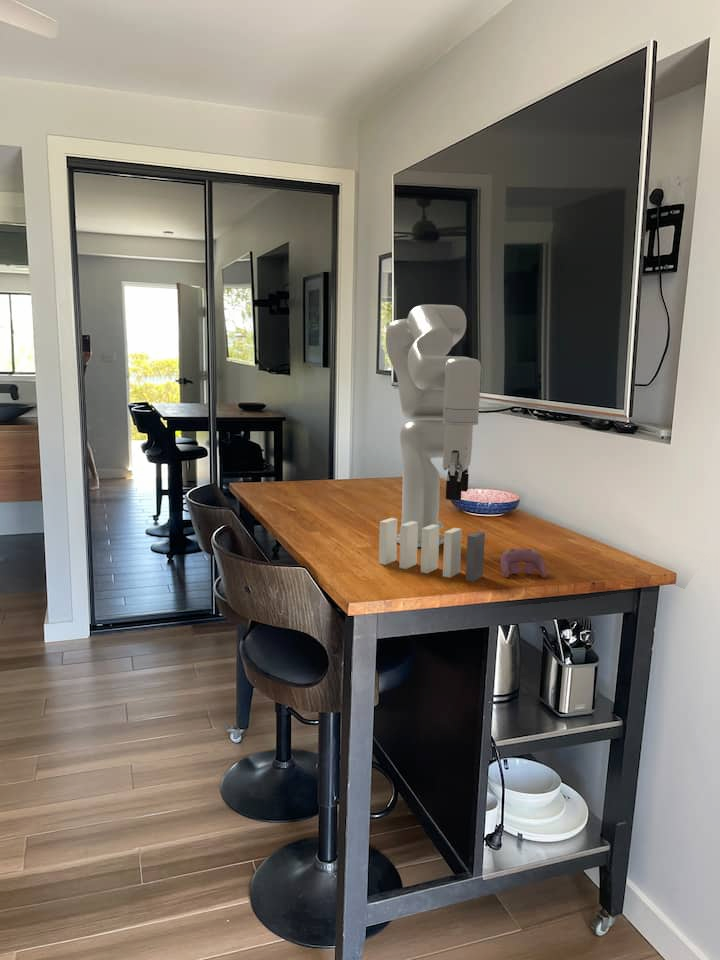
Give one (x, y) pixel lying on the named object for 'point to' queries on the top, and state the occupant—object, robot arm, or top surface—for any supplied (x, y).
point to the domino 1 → (388, 541)
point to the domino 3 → (429, 548)
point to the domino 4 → (452, 552)
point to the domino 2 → (408, 544)
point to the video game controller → (522, 555)
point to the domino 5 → (475, 556)
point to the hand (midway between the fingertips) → (457, 495)
